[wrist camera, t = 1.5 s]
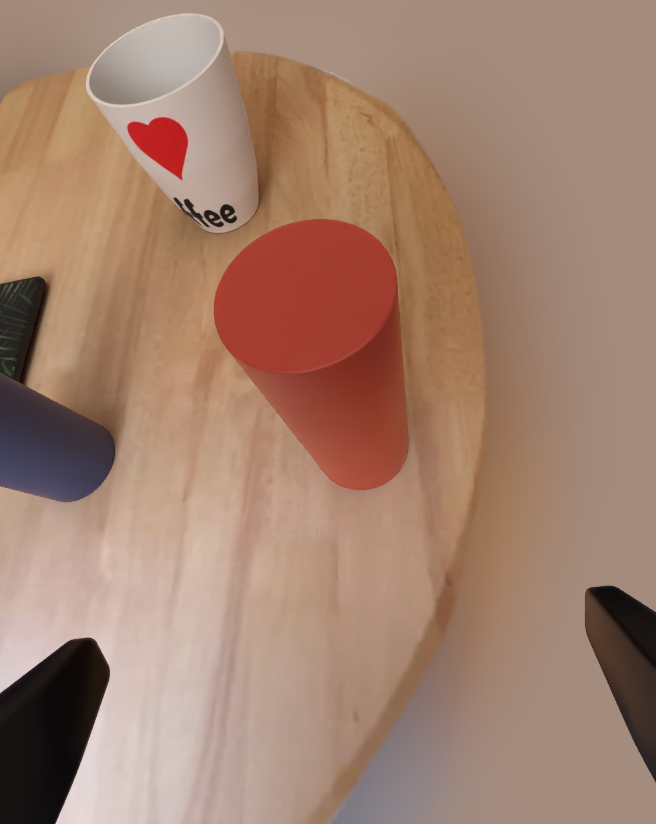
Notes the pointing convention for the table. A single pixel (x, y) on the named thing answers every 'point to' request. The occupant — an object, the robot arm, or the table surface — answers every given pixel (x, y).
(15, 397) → the navy cylinder
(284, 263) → the red cylinder
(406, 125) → the table surface
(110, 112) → the cup
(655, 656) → the robot arm
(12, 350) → the smartphone
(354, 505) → the table surface
